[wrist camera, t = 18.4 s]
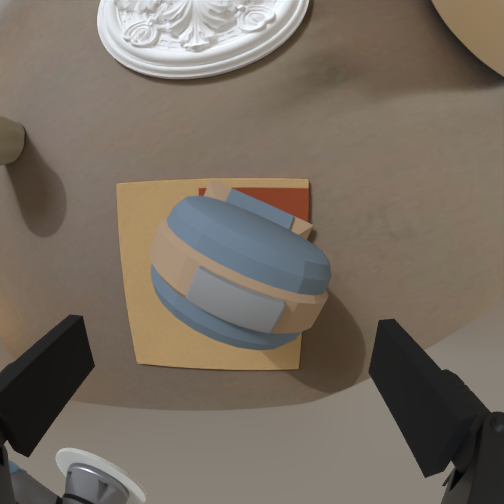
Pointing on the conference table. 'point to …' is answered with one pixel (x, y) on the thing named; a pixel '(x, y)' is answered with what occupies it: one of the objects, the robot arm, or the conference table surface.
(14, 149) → the flower pot
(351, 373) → the conference table surface
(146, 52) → the ceiling medallion
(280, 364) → the mat
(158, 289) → the alarm clock
